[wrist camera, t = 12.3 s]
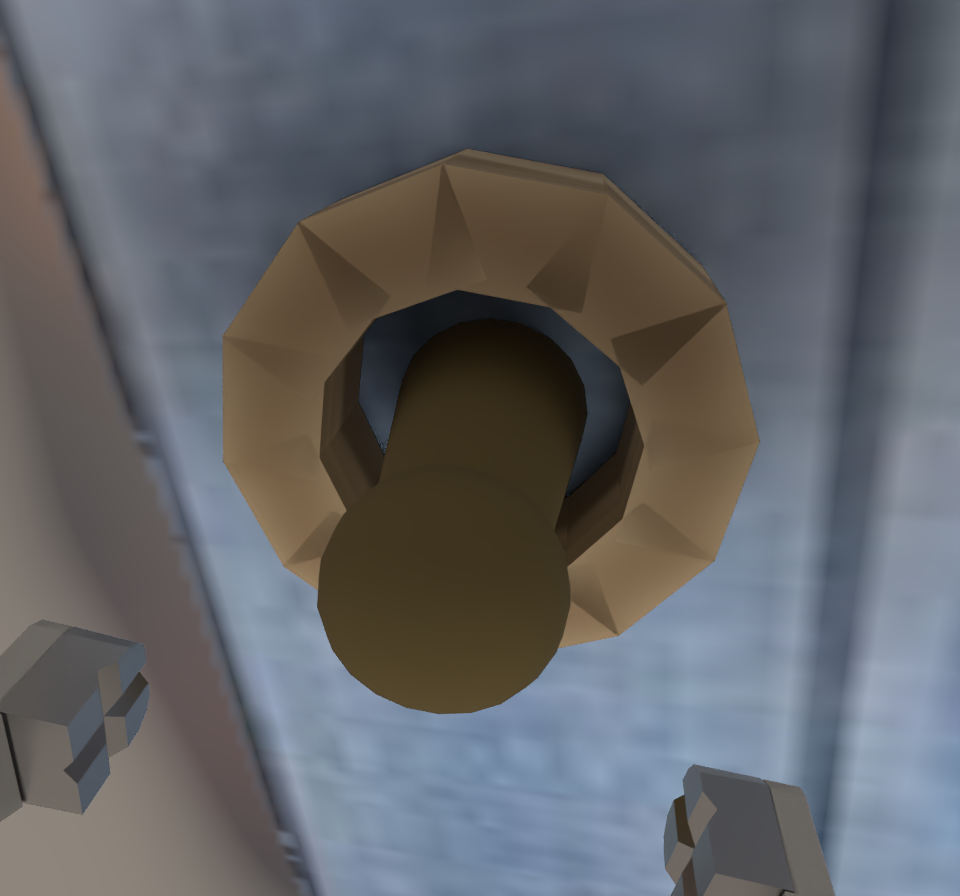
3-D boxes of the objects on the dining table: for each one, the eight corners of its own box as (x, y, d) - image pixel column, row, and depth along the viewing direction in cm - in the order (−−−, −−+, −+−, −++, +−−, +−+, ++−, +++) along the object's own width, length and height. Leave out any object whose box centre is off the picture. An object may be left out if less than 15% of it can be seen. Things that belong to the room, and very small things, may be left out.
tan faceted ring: (283, 114, 20) (221, 122, 17) (792, 208, 20) (838, 236, 16) (271, 532, 27) (223, 601, 23) (652, 611, 26) (663, 694, 23)
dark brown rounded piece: (380, 459, 25) (250, 707, 15) (426, 291, 22) (303, 463, 12) (550, 515, 25) (530, 795, 15) (617, 355, 22) (645, 574, 12)
